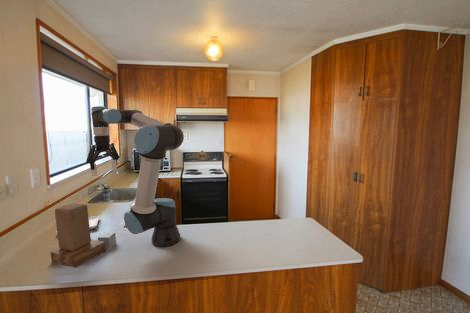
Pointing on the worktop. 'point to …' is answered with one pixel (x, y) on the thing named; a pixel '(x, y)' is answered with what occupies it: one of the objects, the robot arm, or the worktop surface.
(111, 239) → the slate cube
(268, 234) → the worktop surface
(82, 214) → the block
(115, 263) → the worktop surface
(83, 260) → the plinth
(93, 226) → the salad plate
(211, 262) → the worktop surface
